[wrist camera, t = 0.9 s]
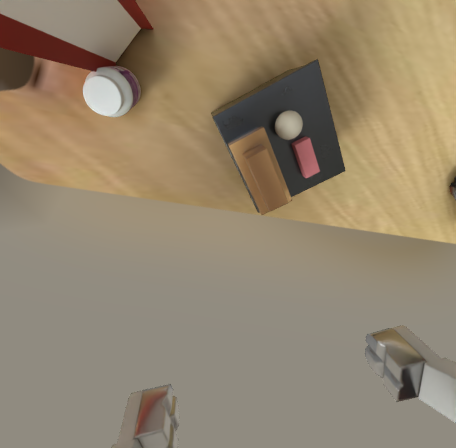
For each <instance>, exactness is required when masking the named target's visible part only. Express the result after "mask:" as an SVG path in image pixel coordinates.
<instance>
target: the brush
mask: <svg viewBox="0 0 456 448" xmlns="http://www.w3.org/2000/svg"><path fill="white" fill-rule="evenodd" d="M228 143H229V144H228V146H229V148H230V150H231V152H232V154H233V156H234V159H235V161H236V163H237V165H238V167H239V169H240V171H241V173H242V175H243V178H244V180H245V182H246V184H247V186H248V188H249V190H250V192H251V194H252V196H253V199H254V201H255V203H256V205H257V207H258V209H259V211H260V213H261V215H263V214H265V213H267V212H269V211H273V210H275V209H277V208H279V207H281V206H283V205H285V204H287V203H288V202H290V201H292V198H291V196H290V193H289V191H288V188H287V185H286V183H285V180H284V178H283V175H282V173H281V170H280V167H279V165H278V162H277V160H276V157H275V154H274V152H273V149H272V147H271V144H270V142H269V139H268V136H267V134H266V131H265V129H264V127H262V126H261V127H259V128H258V127H255V128H254V129H252V130H250V131H248V132H246V133H244V134H242V135H240V136H239V137H237V138H235V139H233V140H231V141H229V142H228Z"/></svg>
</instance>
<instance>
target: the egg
mask: <svg viewBox="0 0 456 448" xmlns="http://www.w3.org/2000/svg"><path fill="white" fill-rule="evenodd" d="M302 127H303V121H302V118H301V116H300V115H299V114H298V113H297V112H295V111H285V112H283V113H281V114H280V115H279V116H278V118H277V119H276V122H275V131H276V133H277V135H278V136H279V137H280V138H282V139H285V140H290V139H293V138H295V137H296V136H298V135H299V133H300V132H301V130H302Z"/></svg>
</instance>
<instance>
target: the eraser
mask: <svg viewBox="0 0 456 448" xmlns="http://www.w3.org/2000/svg"><path fill="white" fill-rule="evenodd" d="M292 147H293V150H294V153H295V156H296V159H297V162H298V165H299V167H300V170H301V173H302V176H304V177H305V178H308V177H310V176H312V175H314V174H316V173H318V172H320V170H319V166H318V163H317V160H316V157H315V153H314V150H313V147H312V143H311V140H310V138H309V137H306V136H305V137H303V138H301V139H299V140H297V141H295V142H293V143H292Z"/></svg>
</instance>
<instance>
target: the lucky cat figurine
mask: <svg viewBox="0 0 456 448" xmlns="http://www.w3.org/2000/svg"><path fill="white" fill-rule="evenodd" d="M449 187H450V192H451V194H452V195H453V196H454V198H455V200H456V177H455V183H451V185H450V186H449Z"/></svg>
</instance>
